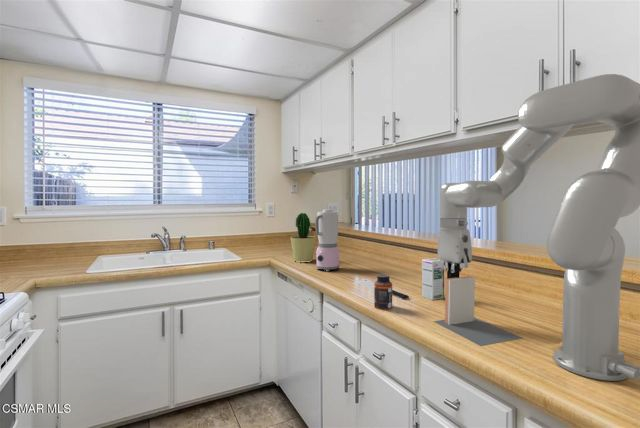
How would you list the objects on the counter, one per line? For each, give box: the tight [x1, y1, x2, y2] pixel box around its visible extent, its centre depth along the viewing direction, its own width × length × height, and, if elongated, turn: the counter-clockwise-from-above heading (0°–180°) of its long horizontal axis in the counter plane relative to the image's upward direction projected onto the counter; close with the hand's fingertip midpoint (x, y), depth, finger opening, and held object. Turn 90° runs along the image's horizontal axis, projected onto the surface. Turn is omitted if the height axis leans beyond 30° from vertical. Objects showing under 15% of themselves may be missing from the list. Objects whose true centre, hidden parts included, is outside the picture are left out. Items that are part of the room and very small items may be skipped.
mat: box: [433, 316, 523, 347], centre depth 93 cm, size 18×14×1 cm
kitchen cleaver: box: [353, 278, 410, 301], centre depth 137 cm, size 31×2×10 cm
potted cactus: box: [290, 212, 317, 261], centre depth 203 cm, size 15×15×30 cm
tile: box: [444, 275, 476, 325], centre depth 98 cm, size 2×9×13 cm, turn 109°
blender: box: [315, 209, 340, 272], centre depth 177 cm, size 16×12×32 cm
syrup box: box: [421, 257, 445, 301], centre depth 125 cm, size 6×6×14 cm
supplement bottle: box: [373, 273, 393, 311], centre depth 113 cm, size 6×6×11 cm
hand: (453, 284), depth 101 cm, fingers closed
